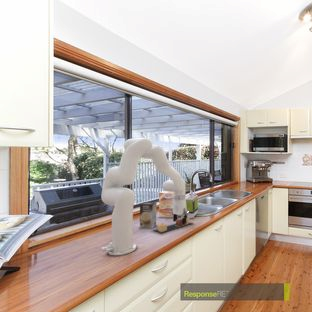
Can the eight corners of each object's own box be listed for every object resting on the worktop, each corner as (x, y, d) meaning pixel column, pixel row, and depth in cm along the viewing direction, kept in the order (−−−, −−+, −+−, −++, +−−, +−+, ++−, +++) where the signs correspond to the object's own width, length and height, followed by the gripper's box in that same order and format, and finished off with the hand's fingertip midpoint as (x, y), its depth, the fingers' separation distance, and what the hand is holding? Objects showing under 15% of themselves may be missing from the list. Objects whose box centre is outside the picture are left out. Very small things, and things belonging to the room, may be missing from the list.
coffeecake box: (158, 217, 170) (158, 192, 170) (162, 215, 177) (162, 191, 177) (177, 217, 170) (177, 192, 170) (180, 215, 177) (180, 191, 177)
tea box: (186, 213, 183) (186, 195, 183) (198, 213, 182) (198, 195, 182) (180, 218, 168) (180, 199, 168) (193, 218, 167) (193, 199, 167)
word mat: (161, 234, 132) (161, 227, 132) (152, 231, 138) (152, 224, 138) (194, 224, 153) (194, 218, 153) (184, 221, 159) (184, 215, 159)
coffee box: (139, 228, 144) (139, 204, 144) (144, 225, 151) (144, 202, 151) (152, 228, 143) (152, 204, 143) (156, 225, 150) (156, 202, 150)
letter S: (179, 226, 147) (179, 220, 147) (175, 225, 149) (175, 219, 149) (184, 225, 150) (184, 219, 150) (180, 223, 152) (180, 218, 152)
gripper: (167, 196, 152) (167, 221, 152) (183, 199, 141) (183, 226, 141) (176, 195, 158) (176, 219, 157) (192, 198, 147) (192, 223, 147)
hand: (179, 222), depth 149 cm, fingers open, 9 cm apart
